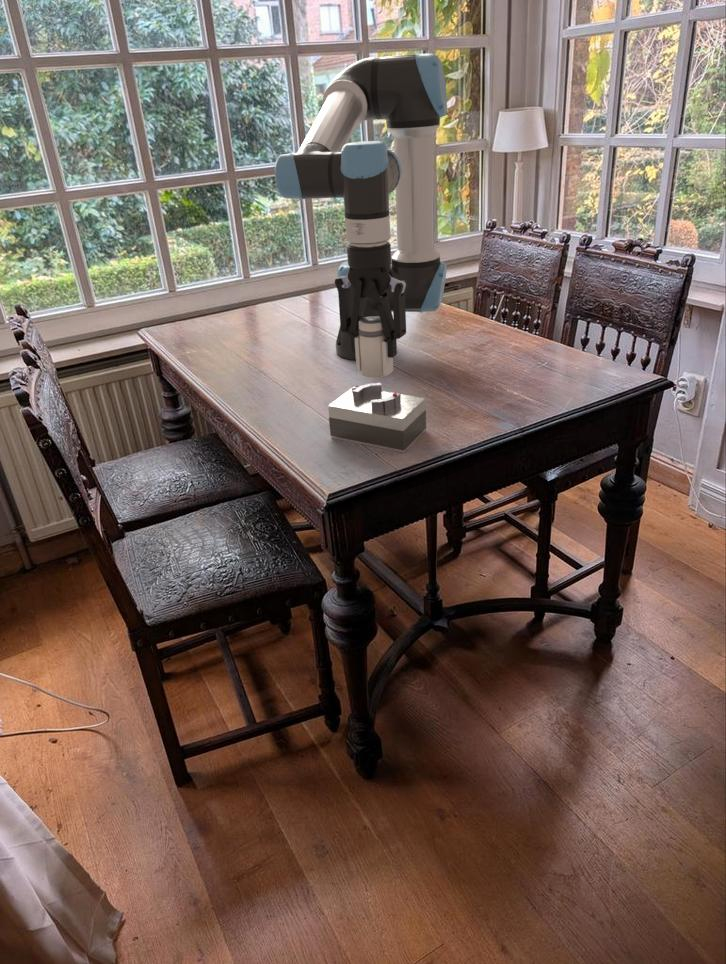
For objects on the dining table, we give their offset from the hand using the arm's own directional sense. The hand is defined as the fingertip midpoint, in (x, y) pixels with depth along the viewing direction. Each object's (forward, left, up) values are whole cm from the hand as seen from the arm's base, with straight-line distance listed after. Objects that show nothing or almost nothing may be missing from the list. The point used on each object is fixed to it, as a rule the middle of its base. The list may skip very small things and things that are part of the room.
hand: (374, 370), depth 128 cm
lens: (0, 0, 0) cm, 0 cm away
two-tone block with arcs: (0, 0, -13) cm, 13 cm away
